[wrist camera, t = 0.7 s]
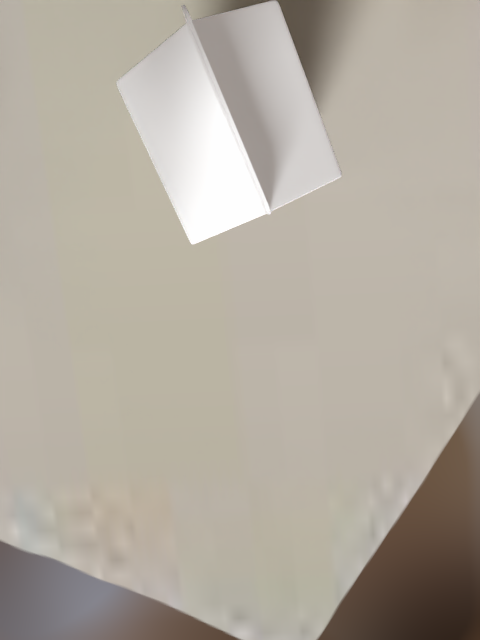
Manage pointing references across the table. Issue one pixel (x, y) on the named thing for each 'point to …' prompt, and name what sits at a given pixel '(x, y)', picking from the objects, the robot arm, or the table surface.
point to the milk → (229, 119)
